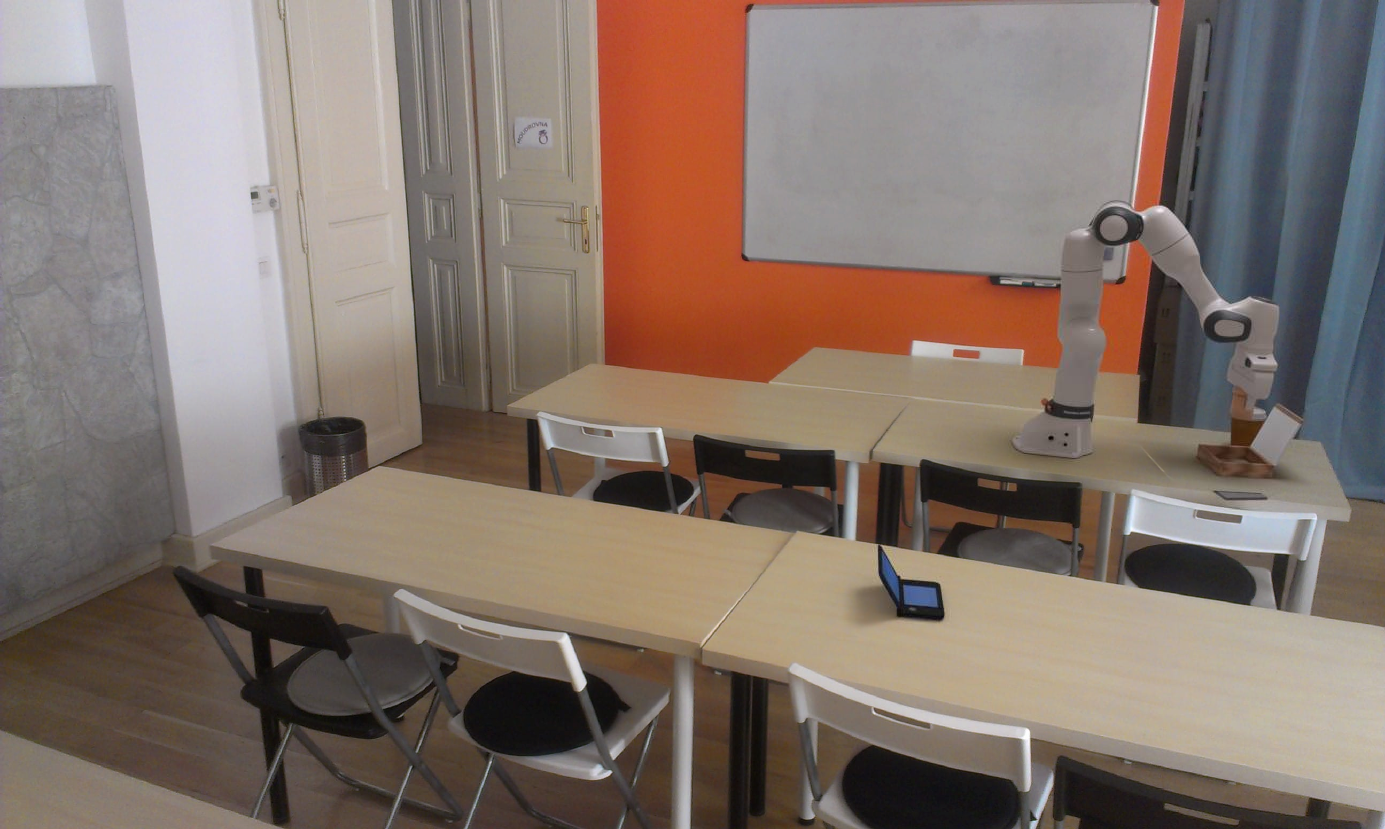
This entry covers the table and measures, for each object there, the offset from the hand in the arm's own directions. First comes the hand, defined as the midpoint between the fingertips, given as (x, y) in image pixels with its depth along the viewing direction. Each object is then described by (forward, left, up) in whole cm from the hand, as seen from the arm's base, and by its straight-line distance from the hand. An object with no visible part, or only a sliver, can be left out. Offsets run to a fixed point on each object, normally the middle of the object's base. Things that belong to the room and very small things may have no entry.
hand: (1242, 406), depth 281 cm
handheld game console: (-96, -93, -19) cm, 135 cm away
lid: (+10, 0, -7) cm, 12 cm away
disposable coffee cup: (+10, +20, -19) cm, 29 cm away
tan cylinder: (0, 0, -3) cm, 3 cm away
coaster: (-6, -18, -19) cm, 26 cm away
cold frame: (0, 0, -19) cm, 19 cm away
